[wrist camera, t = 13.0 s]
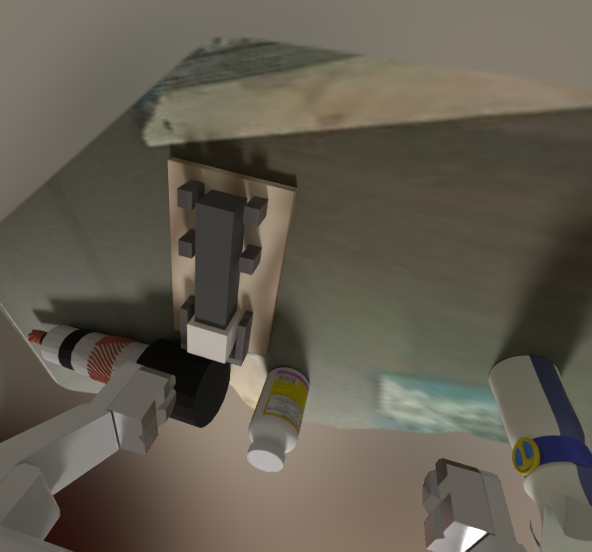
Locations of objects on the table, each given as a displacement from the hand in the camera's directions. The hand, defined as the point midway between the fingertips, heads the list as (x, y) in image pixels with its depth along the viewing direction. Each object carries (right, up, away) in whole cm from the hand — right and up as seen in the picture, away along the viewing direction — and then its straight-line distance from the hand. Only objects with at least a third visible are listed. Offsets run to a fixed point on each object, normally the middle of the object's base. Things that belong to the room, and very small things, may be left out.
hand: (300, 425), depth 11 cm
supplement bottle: (-1, -11, +43) cm, 45 cm away
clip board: (-9, +6, +34) cm, 36 cm away
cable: (-26, -6, +47) cm, 54 cm away
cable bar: (-9, +5, +33) cm, 35 cm away
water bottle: (+28, -8, +34) cm, 44 cm away
